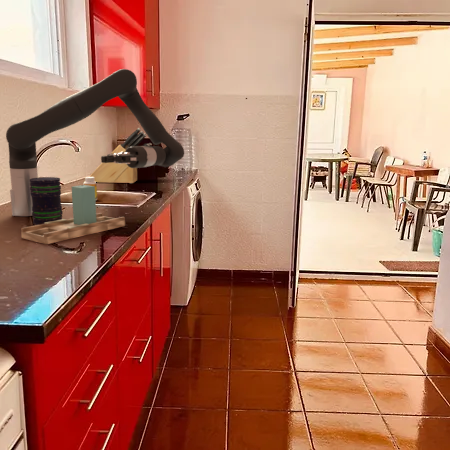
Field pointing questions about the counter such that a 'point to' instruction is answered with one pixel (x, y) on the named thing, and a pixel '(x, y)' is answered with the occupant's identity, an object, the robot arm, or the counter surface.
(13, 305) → the counter surface
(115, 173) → the knife block
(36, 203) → the navy cylinder
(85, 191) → the teal block
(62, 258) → the counter surface
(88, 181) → the supplement bottle
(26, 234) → the box
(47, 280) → the counter surface
